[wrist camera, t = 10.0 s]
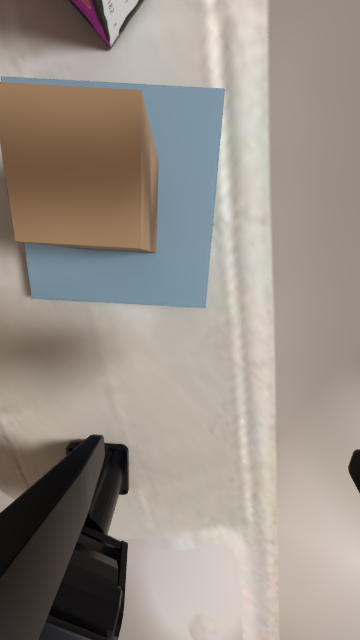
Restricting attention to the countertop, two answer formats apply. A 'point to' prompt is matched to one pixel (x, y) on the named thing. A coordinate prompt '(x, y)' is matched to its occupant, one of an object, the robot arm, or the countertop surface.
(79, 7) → the candy bar box
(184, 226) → the slate board
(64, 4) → the countertop surface
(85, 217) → the walnut cube
